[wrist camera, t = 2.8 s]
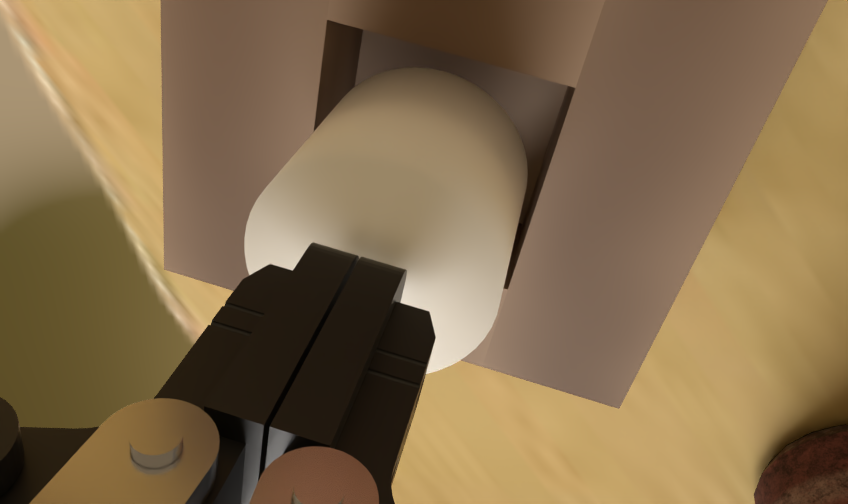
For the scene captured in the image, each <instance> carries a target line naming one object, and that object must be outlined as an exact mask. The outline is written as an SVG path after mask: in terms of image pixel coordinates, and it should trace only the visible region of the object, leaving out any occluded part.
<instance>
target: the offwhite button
mask: <svg viewBox="0 0 848 504" xmlns="http://www.w3.org/2000/svg"><path fill="white" fill-rule="evenodd" d="M527 177H528V169H527V159H526V154H525V149H524V146H523V143H522V140H521V137H520V135H519V133H518V131H517V129H516V127H515V125H514V123H513V122H512V120H511V119H510V117H509V116H508V114H507V113H506V112H505V110H504V109H503V108H502V107H501V106H500V105H499V104H498V103H497V102H496V101H495V100H494V99H493V98H492V97H491V96H490V95H488V94H487V93H486V92H485V91H484V90H482V89H481V88H479V87H477V86H476V85H474V84H473V83H471V82H469V81H467V80H465V79H463V78H461V77H459V76H456V75H454V74H451V73H448V72H445V71H440V70H436V69H431V68H419V67H410V68H399V69H393V70H388V71H385V72H382V73H379V74H376V75H374V76H372V77H370V78H368V79H366V80H364V81H362V82H361V83H359V84H358V85H357V86H355V87H354V88H352V89H351V90H350V91H349V92H348V93H347V94H346V95H345V96H344V97H343V98H342V100H341V101H340V102H339V103H338V104H337V105H336V106H335V108H334V109H333V110H332V111H331V112H330V113H329V115H328V116H327V117H326V118H325V119H324V120H323V122H322V123H321V124H320V125H319V126H318V127H317V129H316V130H315V131H314V132H313V133H312V134H311V136H310V137H309V138H308V139H307V140H306V141H305V143H304V144H303V145H302V146H301V147H300V148H299V150H298V151H297V152H296V153H295V154H294V155H293V156H292V158H291V159H290V160H289V161H288V162H287V163H286V165H285V166H284V167H283V168H282V169H281V170H280V172H279V173H278V174H277V175H276V176H275V177H274V179H273V180H272V181H271V182H270V183H269V184H268V186H267V187H266V188H265V189H264V191H263V192H262V193H261V195H260V196H259V197H258V199H257V200H256V202H255V204H254V206H253V208H252V210H251V212H250V215H249V218H248V221H247V225H246V231H245V238H244V250H245V259H246V265H247V269H248V273H249V275H251V274H253V273H254V272H256V271H258V270H260V269H262V268H263V267H265V266H267V265H269V264H272V265H276V266H279V267H282V268H286V269H289V270H292V271H293V269H294V268H295V266H296V265H297V263H298V262H299V260H300V259H301V257H302V256H303V254H304V253H305V251H306V250H307V248H308V247H309V245H310V244H311V243H313V242H314V243H318V244H321V245H324V246H328V247H331V248H334V249H338V250H341V251H344V252H348V253H351V254H355V255H358V256H359V259H360V257H365V258H369V259H372V260H375V261H379V262H382V263H385V264H389V265H392V266H396V267H399V268H402V269H406V270H407V275H406V281H405V285H404V289H403V294H402V298H401V302H400V303H403V304H406V305H409V306H413V307H416V308H419V309H423V310H426V311H429V312H430V315H431V320H432V324H433V328H434V332H435V336H436V339H435V343H434V346H433V350H432V353H431V357H430V361H429V364H428V368H427V371H426V374H428V373H432V372H435V371H439V370H441V369H444V368H446V367H448V366H451V365H453V364H455V363H456V362H458V361H460V360H461V359H463V358H465V357H466V356H467V355H468V354H470V353H471V352H472V351H473V350H474V349H476V347H477V346H478V345H479V344H480V343H481V342H482V341H483V340H484V339H485V337H486V335H487V334H488V332H489V331H490V329H491V328H492V325H493V323H494V321H495V318H496V316H497V313H498V309H499V305H500V301H501V297H502V292H503V288H504V283H505V279H506V275H507V270H508V266H509V262H510V257H511V253H512V249H513V244H514V240H515V235H516V231H517V227H518V222H519V218H520V214H521V209H522V205H523V201H524V196H525V192H526V187H527Z"/></svg>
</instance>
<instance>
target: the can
mask: <svg viewBox="0 0 848 504" xmlns="http://www.w3.org/2000/svg"><path fill="white" fill-rule="evenodd" d="M754 498H755V504H848V425H840V426H836V427H832V428H828V429H824V430H820V431H817V432H813V433H810V434H808V435H806V436H804V437H802V438H800V439H798V440H797V441H795V442H793V443H791V444H789V445H787V446H786V447H785V448H784V449H783V450H782V451H781V452H780V453H779V454H778V455H777V456H776V457H775V458H774V459H773V460H772V461H771V462H770V463H769V464H768V466H767V467H766V469H765V470H764V472H763V473H762V475H761V478H760V480H759V483H758V485H757V488H756V490H755V493H754Z"/></svg>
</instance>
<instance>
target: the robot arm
mask: <svg viewBox="0 0 848 504" xmlns="http://www.w3.org/2000/svg"><path fill="white" fill-rule="evenodd" d="M406 275H407V270H406V269H402V268H399V267H396V266H392V265H389V264H385V263H382V262H379V261H375V260H372V259H369V258H365V257H360V259H359V256H358V255H355V254H351V253H348V252H344V251H341V250H338V249H334V248H331V247H328V246H324V245H321V244H318V243H314V242H313V243H311V244H310V245H309V247H308V248H307V250H306V251H305V253H304V254H303V256H302V257H301V259H300V260H299V262H298V263H297V265H296V266H295V268H294V269H293V271H292V270H289V269H286V268H282V267H279V266H276V265H272V264H269V265H267V266H265V267H263V268H262V269H260V270H258V271H256V272H254V273H253V274H251V275H249V276H247V277H246V278H244V279H242V281H241V282H240V283H239V285H238V286H237V287H236V289H235V290H234V291H233V293H232V294H231V296H230V297H229V298H228V300H227V301H226V304H225V306H222V308H221V309H220V310H219V312H218V313H217V314H216V316H215V317H214V318H213V320H212V323H211V325H208V327H207V328H206V329H205V331H204V332H203V333H202V335H201V336H200V337H199V339H198V340H197V341H196V343H195V344H194V345H193V347H192V348H191V349H190V351H189V352H188V354H187V355H186V356H185V358H184V359H183V360H182V362H181V363H180V364H179V366H178V367H177V368H176V370H175V371H174V372H173V374H172V375H171V377H170V378H169V379H168V381H167V382H166V384H165V385H164V386H163V387H162V389H161V390H160V391H159V393H158V394H157V395H156V396H155V397H154V399H148V400H144V401H140V402H136V403H134V404H131V405H128V406H126V407H124V408H122V409H120V410H119V411H117V412H116V413H114V414H113V415H111V416H110V417H109V418H108V419H107V420H106V421H105V422H104V423H103V424H102V425H101V426H100V427H94V428H83V429H65V428H32V427H20V426H19V421H18V417H17V414H16V412H15V411H14V409H13V407H12V406H11V405H10V404H9V403H8V402H6V400H4V399H2V398H0V504H395V503H394V500H393V496H392V489H391V486H392V483H393V480H394V476H395V473H396V470H397V467H398V464H399V461H400V457H401V454H402V451H403V448H404V445H405V442H406V439H407V435H408V432H409V429H410V426H411V423H412V420H413V417H414V413H415V410H416V407H417V404H418V400H419V397H420V393H421V389H422V386H423V382H424V379H425V375H426V371H427V368H428V364H429V361H430V357H431V353H432V350H433V346H434V343H435V339H436V336H435V332H434V328H433V324H432V320H431V315H430V312H429V311H426V310H423V309H419V308H416V307H413V306H409V305H406V304H403V303H400V302H401V298H402V294H403V289H404V285H405V281H406Z"/></svg>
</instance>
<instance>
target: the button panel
mask: <svg viewBox="0 0 848 504" xmlns="http://www.w3.org/2000/svg"><path fill="white" fill-rule="evenodd" d="M827 1H828V0H161V60H162V136H163V211H164V270H168V271H171V272H174V273H177V274H181V275H184V276H187V277H190V278H194V279H197V280H200V281H203V282H207V283H210V284H213V285H217V286H220V287H223V288H226V289H230V290H233V291H234V290H235V289H236V287H237V286H238V285H239V283H240V282H241V281H242V279H244V278H246V277H247V276H249V273H248V269H247V265H246V259H245V250H244V238H245V231H246V225H247V221H248V218H249V215H250V212H251V210H252V208H253V206H254V204H255V202H256V200H257V199H258V197H259V196H260V195H261V193H262V192H263V191H264V189H265V188H266V187H267V186H268V184H269V183H270V182H271V181H272V180H273V179H274V177H275V176H276V175H277V174H278V173H279V172H280V170H281V169H282V168H283V167H284V166H285V165H286V163H287V162H288V161H289V160H290V159H291V158H292V156H293V155H294V154H295V153H296V152H297V151H298V150H299V148H300V147H301V146H302V145H303V144H304V143H305V141H306V140H307V139H308V138H309V137H310V136H311V134H312V133H313V132H314V131H315V130H316V129H317V127H318V126H319V125H320V124H321V123H322V122H323V120H324V119H325V118H326V117H327V116H328V115H329V113H330V112H331V111H332V110H333V109H334V108H335V106H336V105H337V104H338V103H339V102H340V101H341V100H342V98H343V97H344V96H345V95H346V94H347V93H348V92H349V91H350V90H351V89H352V88H354V87H355V86H357V85H358V84H359V83H361V82H362V81H364V80H366V79H368V78H370V77H372V76H374V75H376V74H379V73H382V72H385V71H388V70H393V69H399V68H410V67H419V68H431V69H436V70H440V71H445V72H448V73H451V74H454V75H456V76H459V77H461V78H463V79H465V80H467V81H469V82H471V83H473V84H474V85H476V86H477V87H479V88H481V89H482V90H484V91H485V92H486V93H487V94H488V95H490V96H491V97H492V98H493V99H494V100H495V101H496V102H497V103H498V104H499V105H500V106H501V107H502V108H503V109H504V110H505V112H506V113H507V114H508V116H509V117H510V119H511V120H512V122H513V123H514V125H515V127H516V129H517V131H518V133H519V135H520V137H521V140H522V143H523V146H524V149H525V154H526V159H527V169H528V177H527V187H526V192H525V196H524V201H523V205H522V209H521V214H520V218H519V222H518V227H517V231H516V235H515V240H514V244H513V249H512V253H511V257H510V262H509V266H508V270H507V275H506V279H505V283H504V288H503V292H502V297H501V301H500V305H499V309H498V313H497V316H496V318H495V321H494V323H493V325H492V328H491V329H490V331H489V332H488V334H487V335H486V337H485V339H484V340H483V341H482V342H481V343H480V344H479V345H478V346H477V347H476V349H474V350H473V351H472V352H471V353H470V354H468V355H467V356H466V357H465V358H463V359H461V360H462V361H465V362H468V363H471V364H475V365H478V366H481V367H484V368H488V369H491V370H494V371H498V372H501V373H504V374H507V375H511V376H514V377H517V378H520V379H524V380H527V381H530V382H533V383H537V384H540V385H543V386H547V387H550V388H553V389H556V390H560V391H563V392H566V393H569V394H573V395H576V396H579V397H582V398H586V399H589V400H592V401H596V402H599V403H602V404H605V405H609V406H612V407H615V408H618V409H619V408H620V406H621V404H622V402H623V400H624V398H625V396H626V394H627V392H628V390H629V389H630V387H631V385H632V383H633V381H634V379H635V377H636V375H637V373H638V371H639V369H640V367H641V365H642V363H643V361H644V359H645V357H646V355H647V353H648V351H649V349H650V347H651V345H652V343H653V342H654V340H655V338H656V336H657V334H658V332H659V330H660V328H661V326H662V324H663V322H664V320H665V318H666V316H667V314H668V312H669V310H670V308H671V306H672V304H673V302H674V300H675V298H676V297H677V295H678V293H679V291H680V289H681V287H682V285H683V283H684V281H685V279H686V277H687V275H688V273H689V271H690V269H691V267H692V265H693V263H694V261H695V259H696V257H697V255H698V253H699V251H700V250H701V248H702V246H703V244H704V242H705V240H706V238H707V236H708V234H709V232H710V230H711V228H712V226H713V224H714V222H715V220H716V218H717V216H718V214H719V212H720V210H721V208H722V206H723V205H724V203H725V201H726V199H727V197H728V195H729V193H730V191H731V189H732V187H733V185H734V183H735V181H736V179H737V177H738V175H739V173H740V171H741V169H742V167H743V165H744V163H745V161H746V159H747V158H748V156H749V154H750V152H751V150H752V148H753V146H754V144H755V142H756V140H757V138H758V136H759V134H760V132H761V130H762V128H763V126H764V124H765V122H766V120H767V118H768V116H769V114H770V112H771V111H772V109H773V107H774V105H775V103H776V101H777V99H778V97H779V95H780V93H781V91H782V89H783V87H784V85H785V83H786V81H787V79H788V77H789V75H790V73H791V71H792V69H793V67H794V66H795V64H796V62H797V60H798V58H799V56H800V54H801V52H802V50H803V48H804V46H805V44H806V42H807V40H808V38H809V36H810V34H811V32H812V30H813V28H814V26H815V24H816V22H817V20H818V19H819V17H820V15H821V13H822V11H823V9H824V7H825V5H826V3H827Z"/></svg>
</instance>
